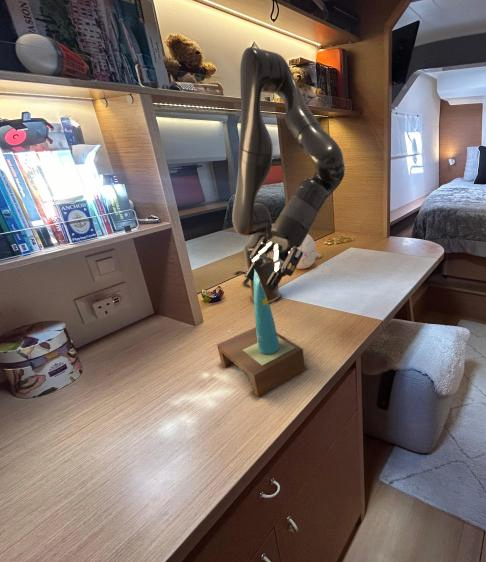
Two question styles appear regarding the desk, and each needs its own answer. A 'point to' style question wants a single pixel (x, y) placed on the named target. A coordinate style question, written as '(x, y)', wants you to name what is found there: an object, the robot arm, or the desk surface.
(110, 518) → the desk surface
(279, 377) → the brown wooden table
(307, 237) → the stuffed toy
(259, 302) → the tube
